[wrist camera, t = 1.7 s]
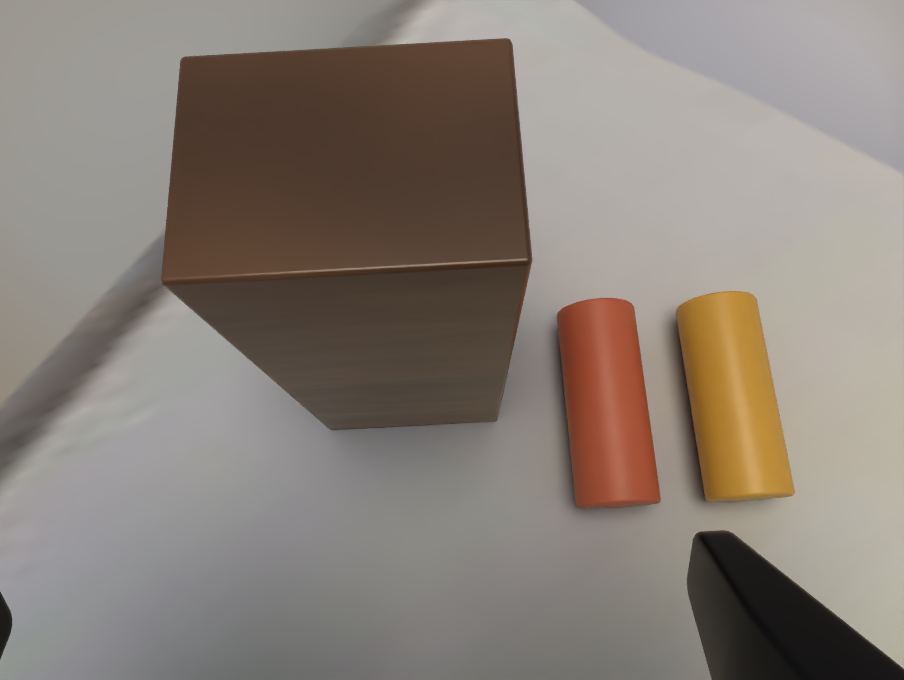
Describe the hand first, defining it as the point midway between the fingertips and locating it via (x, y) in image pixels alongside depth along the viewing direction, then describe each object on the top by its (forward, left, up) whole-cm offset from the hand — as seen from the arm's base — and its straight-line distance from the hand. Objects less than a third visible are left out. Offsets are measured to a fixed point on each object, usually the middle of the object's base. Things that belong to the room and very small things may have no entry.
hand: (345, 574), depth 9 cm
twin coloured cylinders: (-3, -8, -12) cm, 15 cm away
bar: (+4, -4, -12) cm, 14 cm away
